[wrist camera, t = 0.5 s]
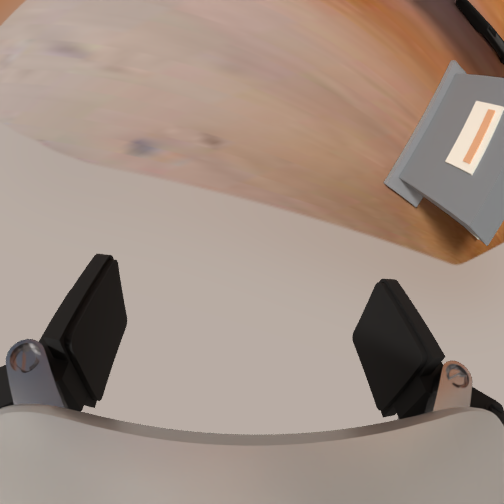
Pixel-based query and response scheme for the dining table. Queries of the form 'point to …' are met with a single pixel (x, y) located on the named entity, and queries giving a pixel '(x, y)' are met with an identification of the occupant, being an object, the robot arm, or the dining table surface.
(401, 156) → the grey sign holder
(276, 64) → the dining table surface
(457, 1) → the electric trimmer
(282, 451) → the robot arm
